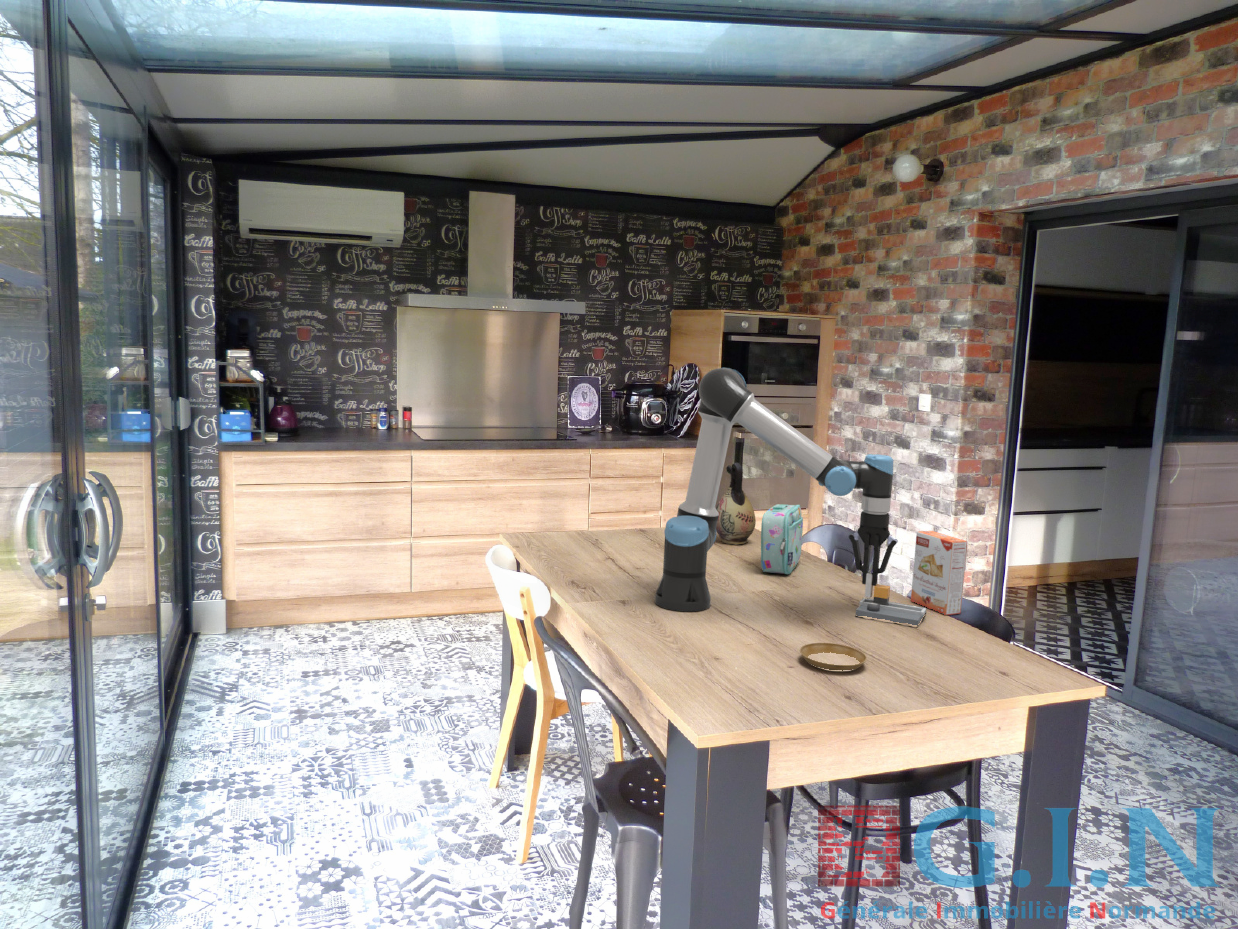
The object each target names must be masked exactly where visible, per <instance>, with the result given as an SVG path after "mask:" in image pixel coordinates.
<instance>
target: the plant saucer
mask: <svg viewBox="0 0 1238 929" xmlns="http://www.w3.org/2000/svg"><path fill="white" fill-rule="evenodd" d="M799 652H800V654H801V656H802V658H803V659H804V660H805V661H806V662H807V663H808V664H809V665H810V664H812V665H814V666H816V667H820V668H824V669H829V670H842V671H843V670H852V669H855V670H857V669H858V668H860V667H861V666H863V665H864V663H865V662H866V661H867V660H868V658H867V655H866V654H865V653H864V652H863V651H861V650H859V649H857V648H854V647H852V646H850V645H849V646H848V645H844V644H841V643H840V644H839V643H834V642H812V643H807V644H804V645H802V646H800V648H799ZM823 652H824V653H830V652H831V653H836V654H845V655H848V656H850V657H854V658H856V660H858V661H859V662H860V663H859V664H855V665H834V664H827V663H822V662H818V661H815V660H812V659H810V658H808V656H809V655H811V654H818V653H823ZM812 665H811V666H812ZM856 668H857V669H856Z"/></svg>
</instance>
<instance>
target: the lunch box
mask: <svg viewBox="0 0 1238 929" xmlns="http://www.w3.org/2000/svg"><path fill="white" fill-rule="evenodd" d="M760 527H761V529H760V530H761V531H760V567H761V570H762V573H763V572H764V573H771V574H782V575H790V574H791V573H792V572H793V571H794V569H795V568H796V567H797V565H798V563H799V561H800V558H801V554H802V542H803V529H804V518H803V516H802V508H801V505H800V504H777V503H776V504H775V505H773V506H772V507H770V508H768V509H766V511H765V512H764V514H763V515H762V519H761V526H760Z"/></svg>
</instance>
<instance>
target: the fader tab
mask: <svg viewBox="0 0 1238 929" xmlns="http://www.w3.org/2000/svg"><path fill="white" fill-rule="evenodd" d="M873 588H874V589H873V599H874V600H873V603H878V604H880V605H886V606H888V605H889V602H890V594H891V593H890V592H891V586H890V585H885V584H878V583H877V584H876V586H873Z"/></svg>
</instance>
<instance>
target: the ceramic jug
mask: <svg viewBox="0 0 1238 929" xmlns="http://www.w3.org/2000/svg"><path fill="white" fill-rule="evenodd" d="M725 469H726V473H728V475H730V483H729V486H728V488H727V489H726V491H725V492H724V494H723V495H722V496H721V498H720V500H719V501H718V503H717V505H716V506H715V508H716V510H717V511H718V513H719V517H718V521H717V526H716V530H717V531H716V533H717V535H718V536H719V538H720V539H721V542H722V543H723V544H729V545H735V546H737V545H743V544H747V543H748V538H749V537H751V536H752V535H753V532H754V530H755V528H756V515H755V510H754V506H753V505H752V503H751V502H750V500H749V498H748V496H747V495H746V492H745V491H744V490H743V478H744V477H743V473H744V472H743V467H742V465H741V463H740V462H734V463H732V465H727V467H726V468H725Z"/></svg>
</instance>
